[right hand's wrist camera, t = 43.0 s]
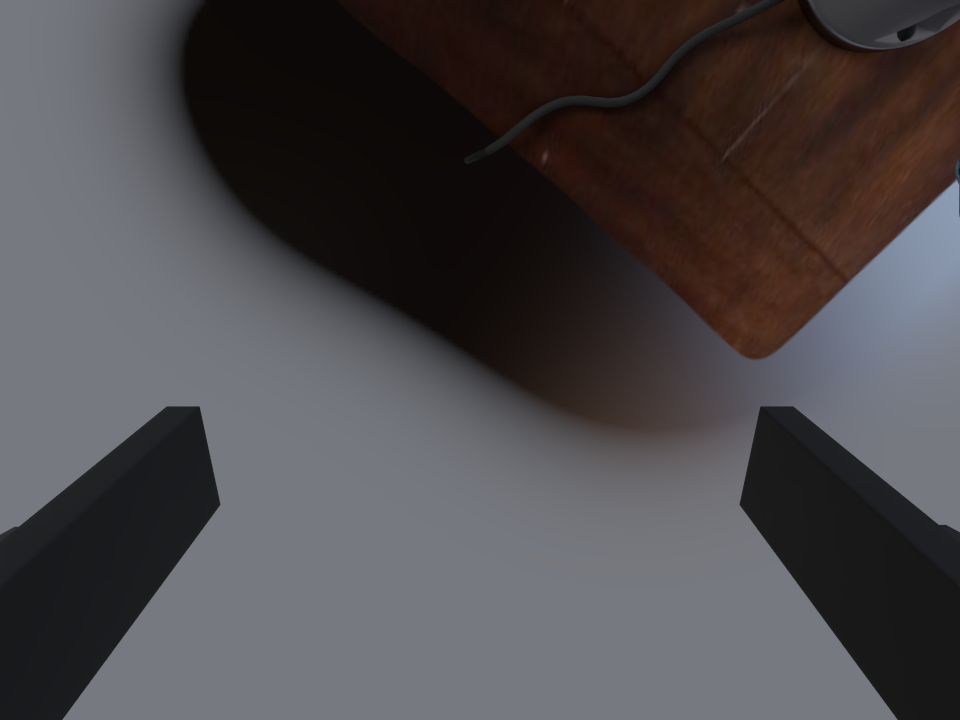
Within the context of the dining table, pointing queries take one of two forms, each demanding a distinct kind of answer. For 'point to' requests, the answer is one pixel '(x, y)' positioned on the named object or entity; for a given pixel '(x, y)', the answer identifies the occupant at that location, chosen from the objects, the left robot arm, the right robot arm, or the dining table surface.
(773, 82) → the dining table surface
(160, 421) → the right robot arm
